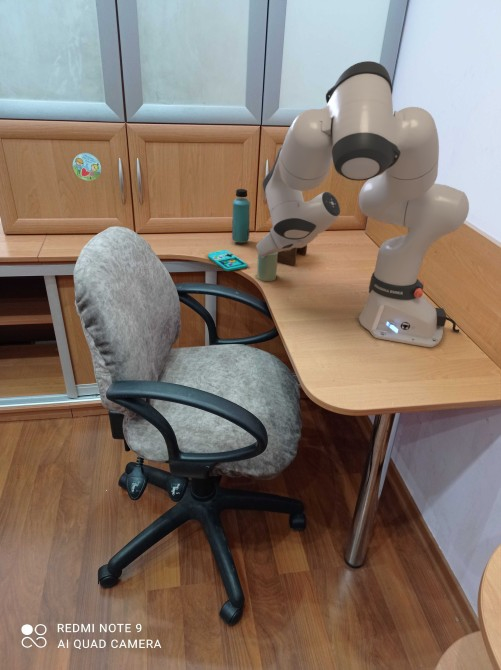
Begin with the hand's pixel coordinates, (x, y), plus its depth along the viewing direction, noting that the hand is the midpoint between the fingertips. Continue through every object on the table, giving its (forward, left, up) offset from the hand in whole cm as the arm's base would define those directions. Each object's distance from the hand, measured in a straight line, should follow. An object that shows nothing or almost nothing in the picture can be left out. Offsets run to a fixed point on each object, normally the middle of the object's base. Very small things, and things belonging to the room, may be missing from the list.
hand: (274, 252), depth 149 cm
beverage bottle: (+23, -23, -10) cm, 34 cm away
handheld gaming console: (+19, -5, -9) cm, 22 cm away
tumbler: (+2, -1, -9) cm, 10 cm away
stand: (+4, -20, -9) cm, 22 cm away
